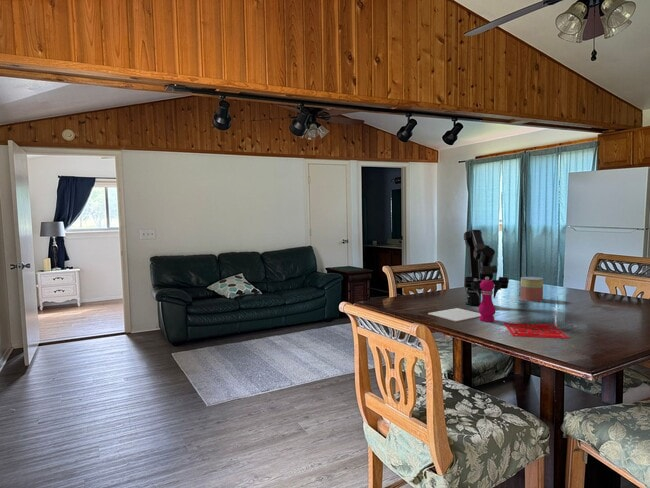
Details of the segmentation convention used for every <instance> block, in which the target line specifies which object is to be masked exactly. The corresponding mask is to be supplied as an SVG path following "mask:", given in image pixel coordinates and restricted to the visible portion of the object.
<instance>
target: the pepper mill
mask: <svg viewBox="0 0 650 488" xmlns="http://www.w3.org/2000/svg"><path fill="white" fill-rule="evenodd" d="M480 288H481V289H482V290H481V304H480V305H478V313H480V314H481V315H480V317H479V321H480V322H484V323H493V322H495V314H496V311H497V310H496V308H495V305H494V303H493V297H492V295H494V283H493V282H492V281H491V280H489V277H488V276H486V277H485V280H483V281H482V282H481V283H480Z"/></svg>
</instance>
